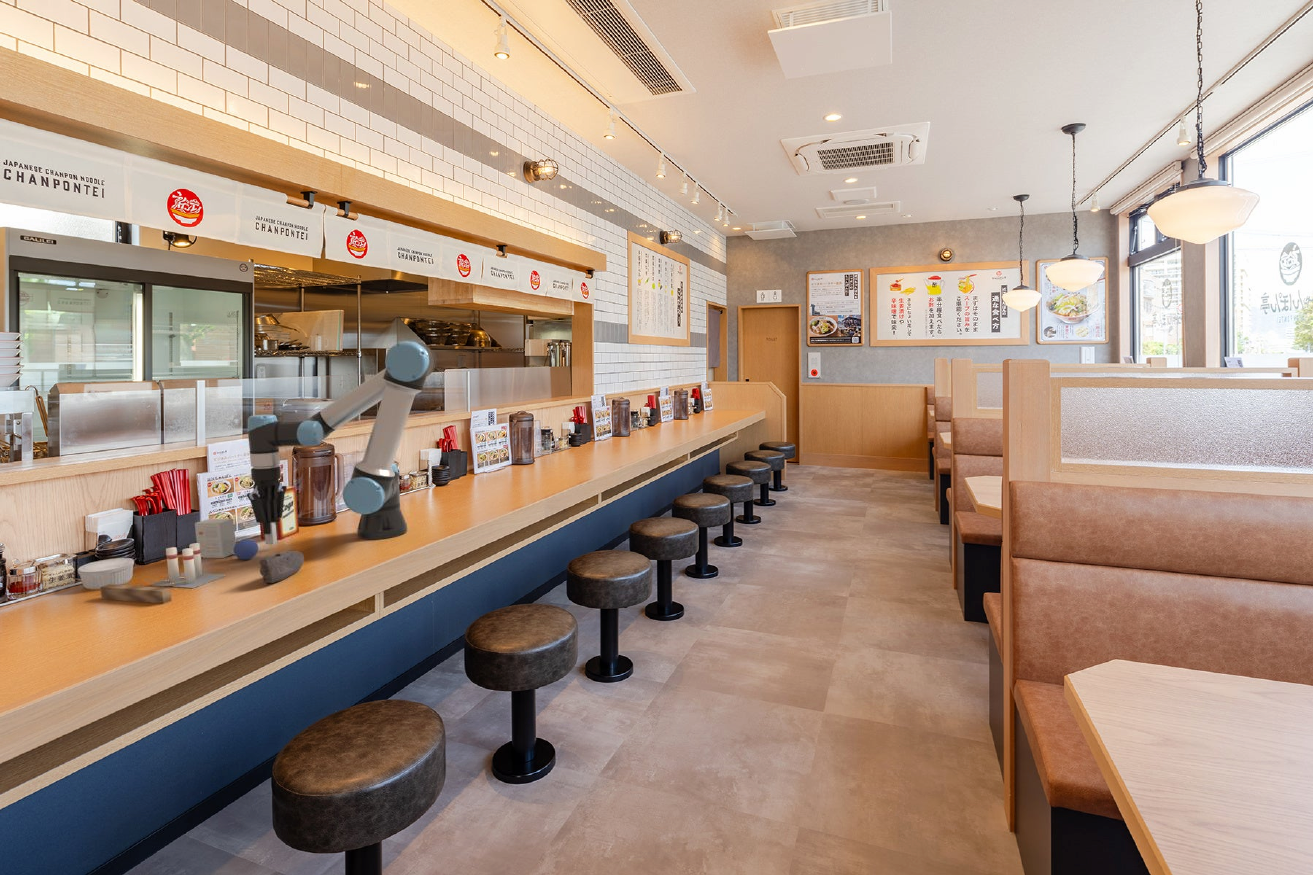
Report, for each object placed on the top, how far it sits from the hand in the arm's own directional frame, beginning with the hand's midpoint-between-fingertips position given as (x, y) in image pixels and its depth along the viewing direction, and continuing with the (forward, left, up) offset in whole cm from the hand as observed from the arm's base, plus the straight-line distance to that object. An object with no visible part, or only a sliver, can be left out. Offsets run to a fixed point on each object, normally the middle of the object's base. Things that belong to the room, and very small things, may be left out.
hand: (271, 543), depth 196 cm
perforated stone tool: (-23, +21, -2) cm, 32 cm away
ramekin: (+19, +33, -2) cm, 38 cm away
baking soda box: (+10, -15, -2) cm, 18 cm away
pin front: (0, +25, -2) cm, 25 cm away
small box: (+12, +7, -2) cm, 14 cm away
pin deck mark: (0, +28, -2) cm, 28 cm away
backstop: (0, +42, -2) cm, 42 cm away
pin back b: (+2, +30, -2) cm, 30 cm away
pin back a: (-3, +30, -2) cm, 30 cm away
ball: (0, +9, +1) cm, 10 cm away
